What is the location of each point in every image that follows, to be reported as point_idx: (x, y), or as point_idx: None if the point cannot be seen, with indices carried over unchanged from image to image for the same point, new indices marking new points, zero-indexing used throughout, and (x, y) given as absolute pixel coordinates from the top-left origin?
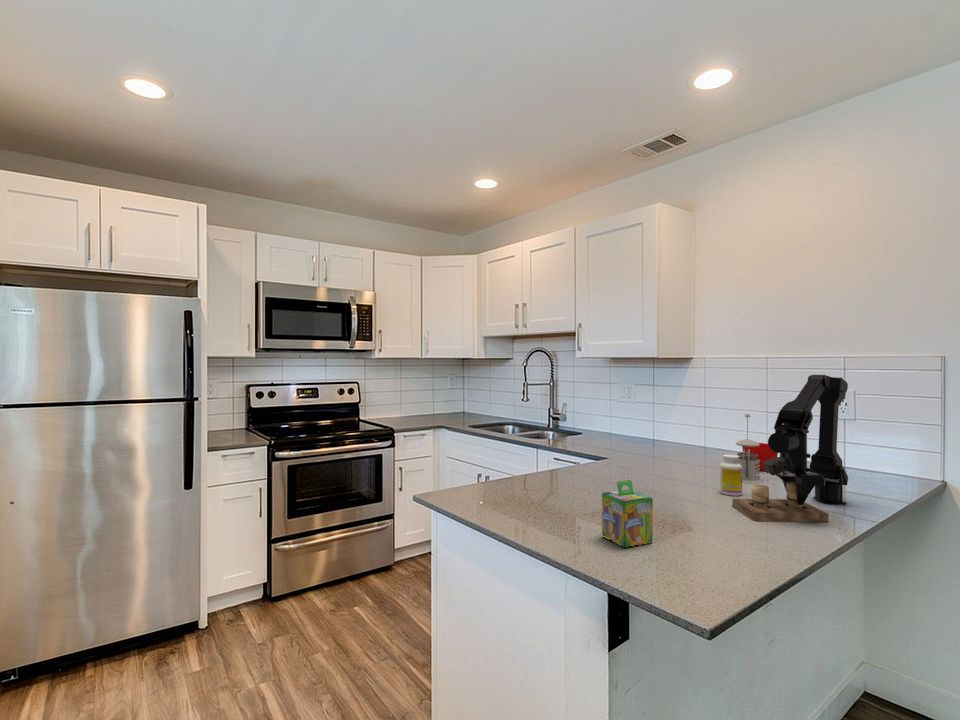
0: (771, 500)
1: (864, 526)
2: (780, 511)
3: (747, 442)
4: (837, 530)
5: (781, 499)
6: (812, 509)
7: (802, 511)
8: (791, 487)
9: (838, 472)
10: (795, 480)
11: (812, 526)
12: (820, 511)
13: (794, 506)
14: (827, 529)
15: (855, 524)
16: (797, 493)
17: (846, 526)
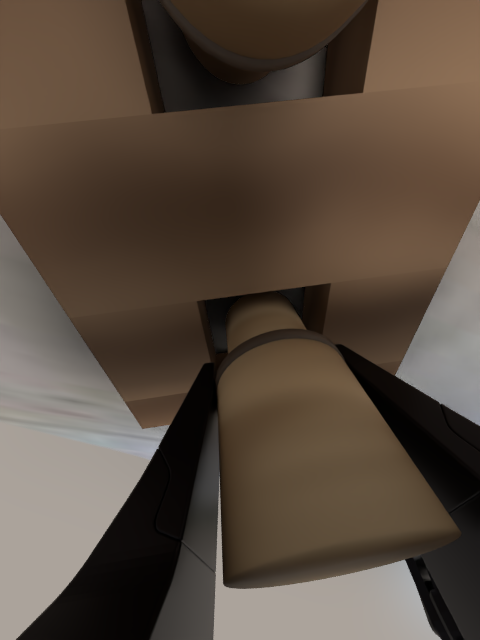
0: (427, 229)
1: (144, 452)
2: (19, 145)
3: None
4: (26, 389)
5: (421, 312)
6: None
7: (132, 342)
8: (258, 495)
9: (438, 623)
10: (452, 574)
11: (26, 317)
12: (171, 413)
13: (233, 332)
14: (13, 362)
15: (158, 442)
16: (175, 452)
17: (117, 422)
